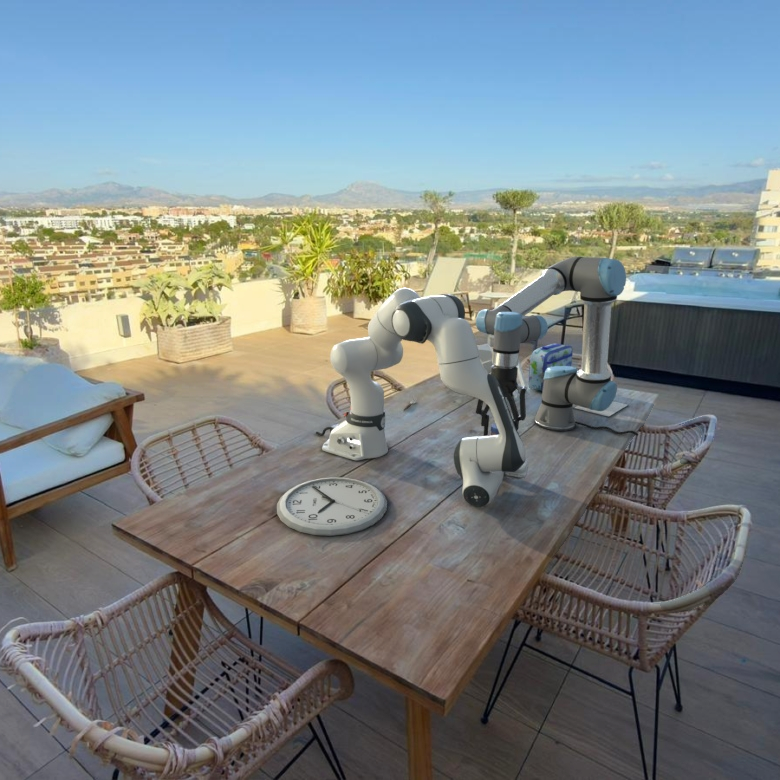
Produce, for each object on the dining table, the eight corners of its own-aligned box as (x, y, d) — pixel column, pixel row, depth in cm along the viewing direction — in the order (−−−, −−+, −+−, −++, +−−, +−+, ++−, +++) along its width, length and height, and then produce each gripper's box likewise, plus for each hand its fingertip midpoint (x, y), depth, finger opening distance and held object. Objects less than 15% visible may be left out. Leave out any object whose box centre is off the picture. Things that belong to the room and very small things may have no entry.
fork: (400, 411, 216) (400, 406, 215) (412, 399, 230) (412, 395, 230) (406, 412, 215) (406, 407, 215) (418, 400, 230) (418, 396, 229)
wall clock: (392, 527, 129) (268, 531, 127) (391, 533, 130) (269, 537, 127) (383, 473, 158) (282, 475, 155) (383, 478, 158) (282, 480, 156)
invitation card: (608, 416, 214) (573, 407, 224) (608, 416, 214) (573, 408, 224) (628, 404, 229) (594, 396, 238) (628, 405, 229) (594, 397, 238)
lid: (496, 435, 156) (497, 430, 155) (487, 429, 160) (487, 424, 160) (511, 433, 157) (511, 428, 157) (501, 427, 162) (501, 422, 161)
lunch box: (544, 395, 239) (549, 351, 233) (524, 390, 247) (528, 347, 240) (571, 384, 257) (577, 343, 251) (552, 380, 264) (556, 339, 258)
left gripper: (526, 468, 145) (532, 449, 157) (454, 455, 152) (466, 439, 164) (524, 488, 147) (530, 468, 159) (453, 475, 154) (465, 457, 166)
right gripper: (541, 366, 152) (534, 439, 159) (474, 359, 160) (469, 428, 166) (538, 372, 146) (530, 448, 152) (467, 364, 153) (463, 437, 160)
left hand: (497, 453), depth 162 cm, fingers closed on jar, 5 cm apart
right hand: (498, 438), depth 159 cm, fingers open, 7 cm apart
